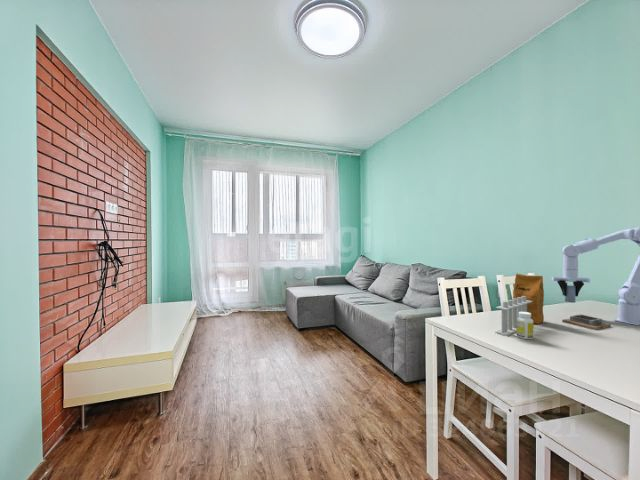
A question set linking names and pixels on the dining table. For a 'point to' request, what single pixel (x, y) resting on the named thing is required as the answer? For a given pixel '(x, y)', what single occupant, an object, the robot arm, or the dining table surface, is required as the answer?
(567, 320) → the holder
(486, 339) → the dining table surface
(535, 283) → the coffee package
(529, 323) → the supplement bottle
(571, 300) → the tube
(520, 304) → the test tube rack
